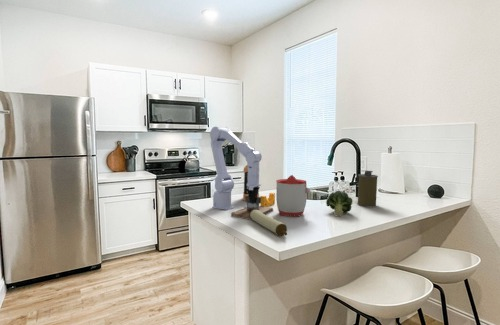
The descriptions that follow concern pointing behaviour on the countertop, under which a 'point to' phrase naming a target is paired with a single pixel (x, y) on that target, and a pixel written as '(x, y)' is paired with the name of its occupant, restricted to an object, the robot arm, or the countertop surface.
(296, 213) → the citrus juicer
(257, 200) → the twist cap
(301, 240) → the countertop surface
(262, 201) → the pipe clamp
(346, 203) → the vegetable
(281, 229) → the beige long cylinder
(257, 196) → the whiskey bottle
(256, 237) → the countertop surface
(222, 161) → the robot arm
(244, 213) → the base plate
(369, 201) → the canister
